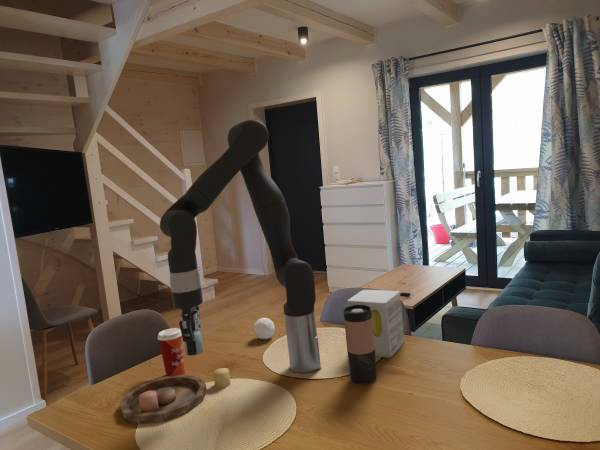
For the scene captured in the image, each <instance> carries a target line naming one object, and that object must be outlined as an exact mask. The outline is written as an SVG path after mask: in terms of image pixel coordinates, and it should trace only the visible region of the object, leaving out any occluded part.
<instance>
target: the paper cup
mask: <svg viewBox="0 0 600 450" xmlns="http://www.w3.org/2000/svg"><path fill="white" fill-rule="evenodd" d="M157 340H158V344H159V348H160V353H161V356H162V361H163V366H164V371H165V375H166V377H168V376H177V375H185V372H186V371H185V358H184V342H183V338H182V334H181V330H180V327H179V328H178V327H171V328H167V329H163V330H162V331H159V333H158V334H157Z"/></svg>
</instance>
